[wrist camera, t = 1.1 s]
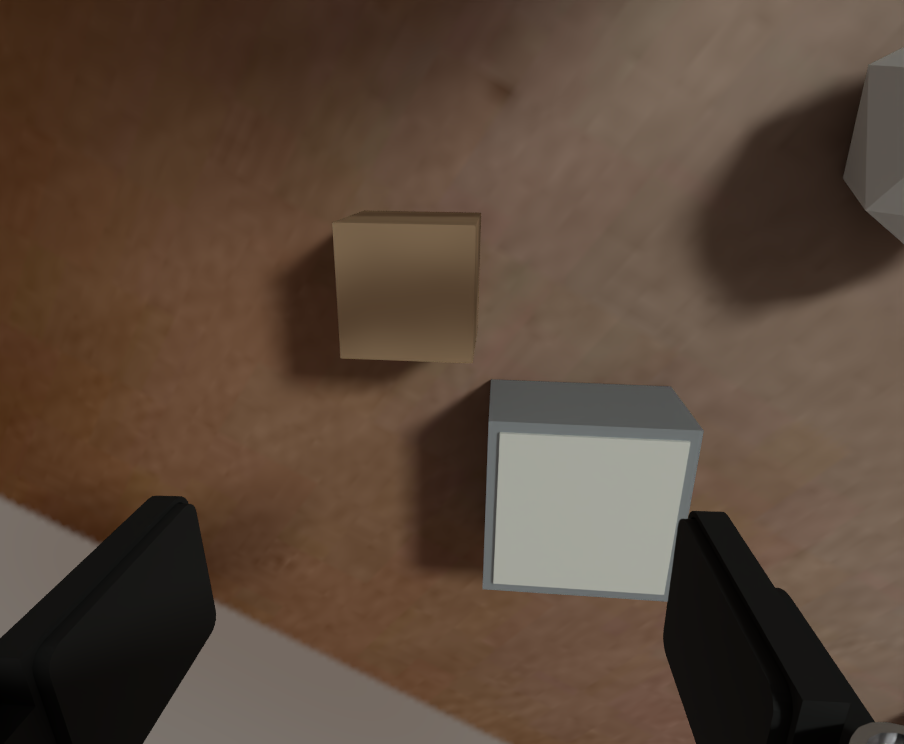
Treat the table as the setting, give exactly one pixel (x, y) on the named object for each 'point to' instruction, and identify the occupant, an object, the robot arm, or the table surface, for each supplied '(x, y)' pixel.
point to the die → (880, 144)
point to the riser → (586, 487)
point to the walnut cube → (407, 285)
